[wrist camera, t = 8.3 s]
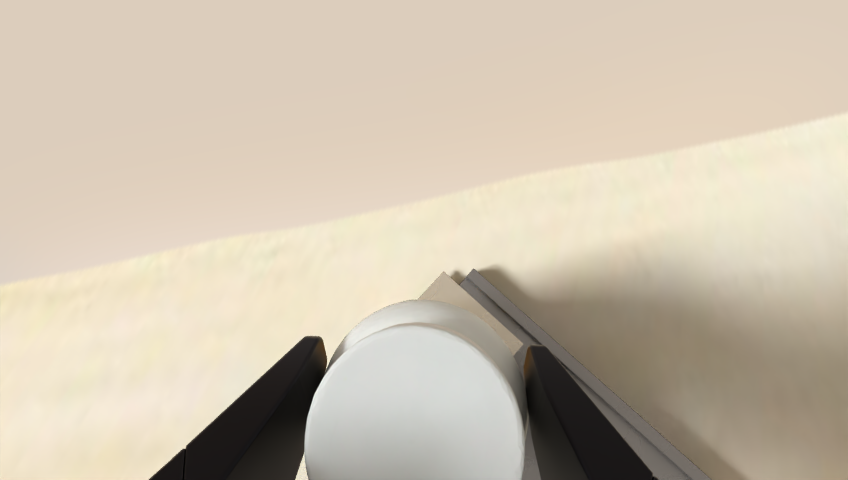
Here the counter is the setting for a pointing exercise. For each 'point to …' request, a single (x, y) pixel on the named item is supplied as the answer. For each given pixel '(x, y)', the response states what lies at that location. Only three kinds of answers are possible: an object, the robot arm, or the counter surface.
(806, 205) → the counter surface
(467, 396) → the supplement bottle
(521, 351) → the grey flat tray
